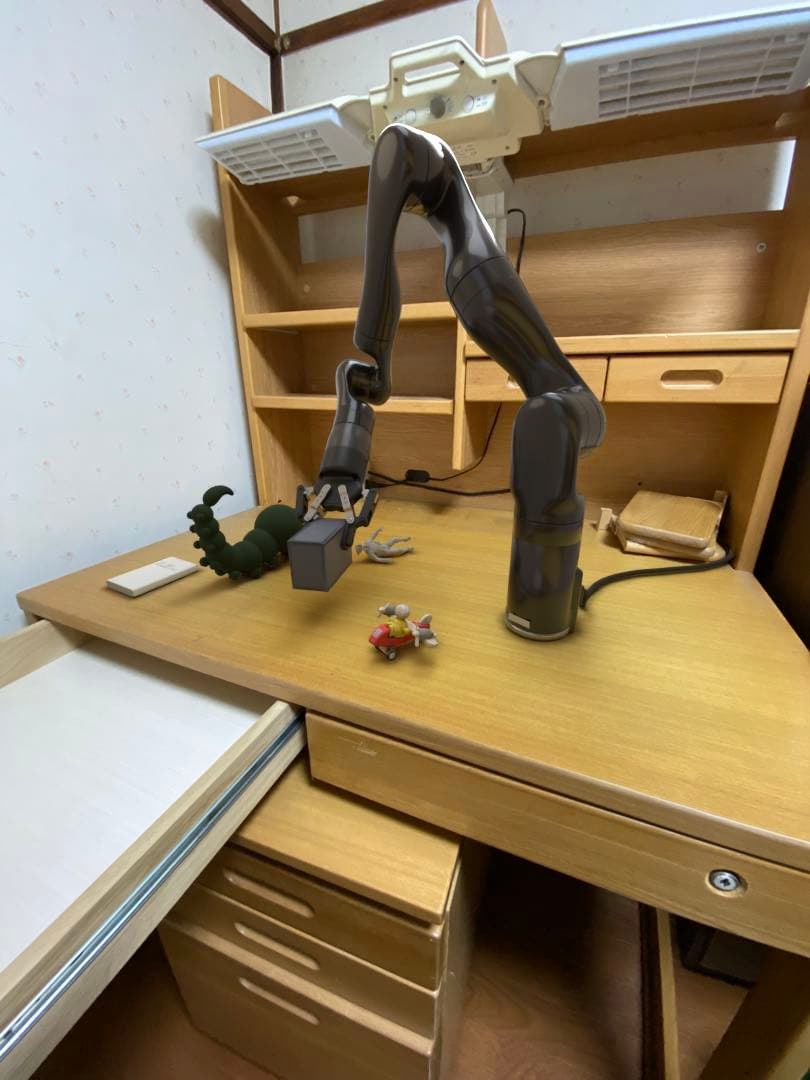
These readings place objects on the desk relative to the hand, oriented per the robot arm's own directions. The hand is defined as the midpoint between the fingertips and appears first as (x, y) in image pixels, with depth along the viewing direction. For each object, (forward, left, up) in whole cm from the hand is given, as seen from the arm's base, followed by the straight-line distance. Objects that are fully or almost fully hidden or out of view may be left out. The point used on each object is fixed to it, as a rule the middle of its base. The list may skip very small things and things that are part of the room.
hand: (325, 546), depth 72 cm
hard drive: (+32, -15, -10) cm, 36 cm away
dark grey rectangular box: (0, +1, -4) cm, 4 cm away
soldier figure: (-11, -18, -10) cm, 23 cm away
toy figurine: (+13, -17, -10) cm, 23 cm away
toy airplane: (-10, +14, -10) cm, 20 cm away
